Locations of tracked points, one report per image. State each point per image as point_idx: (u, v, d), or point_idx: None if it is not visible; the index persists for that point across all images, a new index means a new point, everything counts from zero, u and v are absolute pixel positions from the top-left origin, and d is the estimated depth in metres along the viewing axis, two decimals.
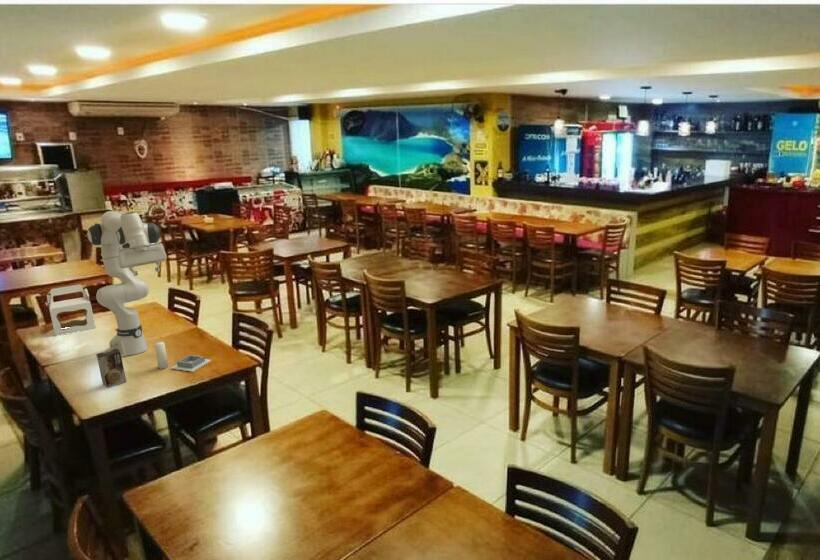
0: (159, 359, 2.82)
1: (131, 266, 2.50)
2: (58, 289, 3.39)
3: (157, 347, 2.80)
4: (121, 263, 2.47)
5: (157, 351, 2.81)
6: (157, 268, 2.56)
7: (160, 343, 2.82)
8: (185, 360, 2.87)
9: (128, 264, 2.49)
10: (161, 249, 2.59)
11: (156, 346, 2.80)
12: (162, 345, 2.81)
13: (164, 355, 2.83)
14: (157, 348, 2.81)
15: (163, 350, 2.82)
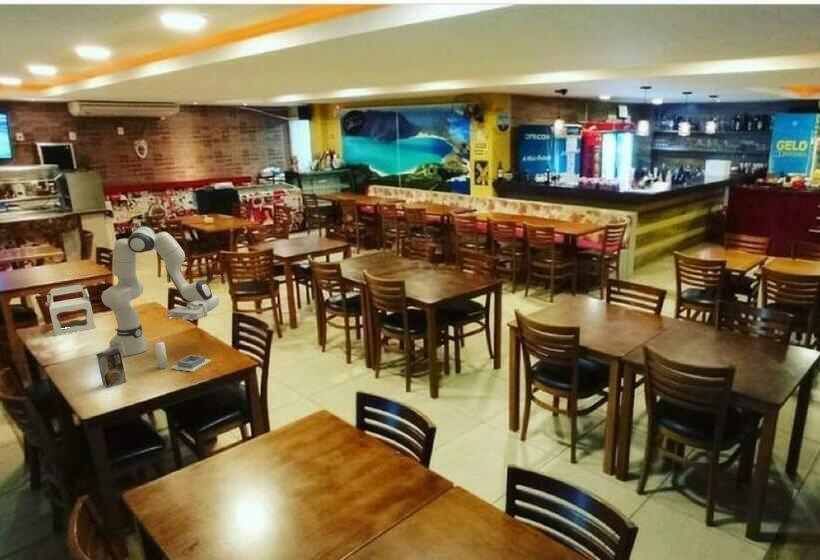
0: (159, 359, 2.82)
1: None
2: (58, 289, 3.39)
3: (157, 347, 2.80)
4: None
5: (157, 351, 2.81)
6: None
7: (160, 343, 2.82)
8: (185, 360, 2.87)
9: None
10: None
11: (156, 346, 2.80)
12: (162, 345, 2.81)
13: (164, 355, 2.83)
14: (157, 348, 2.81)
15: (163, 350, 2.82)
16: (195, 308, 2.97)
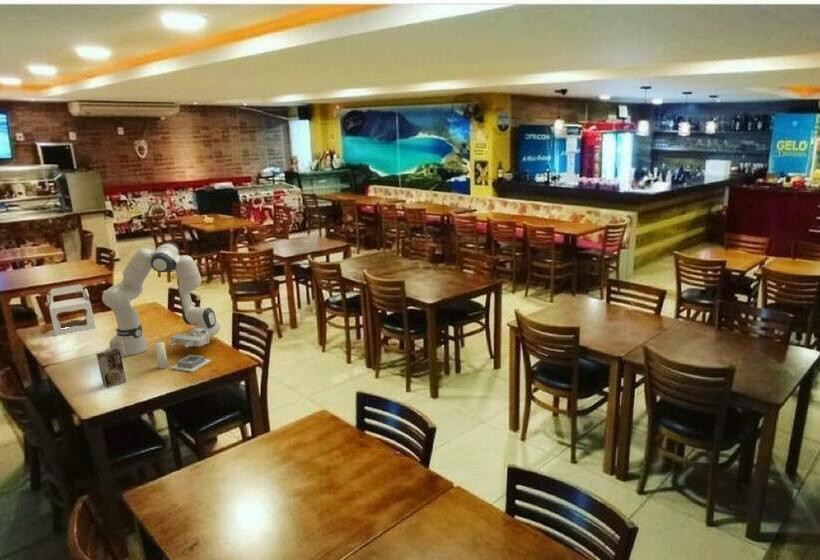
0: (159, 359, 2.82)
1: None
2: (58, 289, 3.39)
3: (157, 347, 2.80)
4: None
5: (157, 351, 2.81)
6: None
7: (160, 343, 2.82)
8: (185, 360, 2.87)
9: (195, 345, 2.97)
10: None
11: (156, 346, 2.80)
12: (162, 345, 2.81)
13: (164, 355, 2.83)
14: (157, 348, 2.81)
15: (163, 350, 2.82)
16: (198, 335, 3.02)
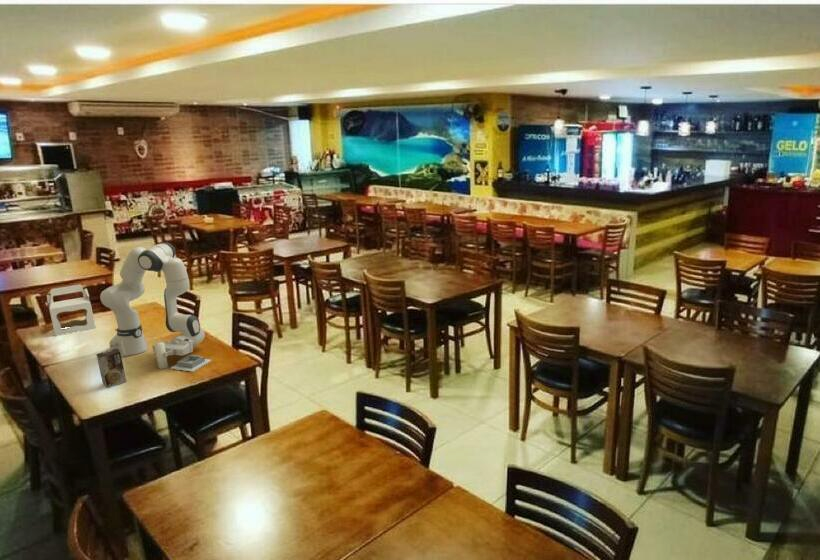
0: (159, 359, 2.82)
1: None
2: (58, 289, 3.39)
3: (157, 347, 2.80)
4: None
5: (157, 351, 2.81)
6: None
7: (160, 343, 2.82)
8: (185, 360, 2.87)
9: None
10: None
11: (156, 346, 2.80)
12: (162, 345, 2.81)
13: None
14: (157, 348, 2.81)
15: (163, 350, 2.82)
16: (181, 343, 2.90)
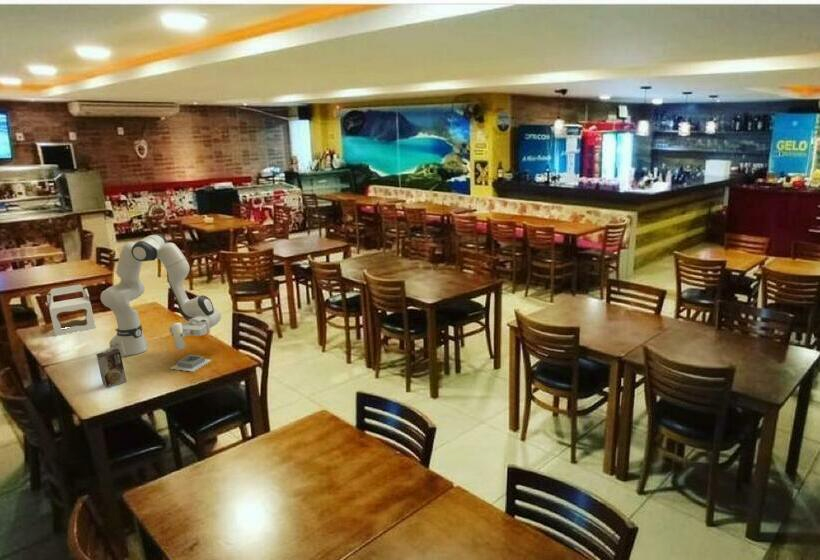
0: (176, 340, 2.80)
1: None
2: (58, 289, 3.39)
3: (174, 327, 2.78)
4: (200, 335, 2.83)
5: (174, 331, 2.79)
6: None
7: (177, 323, 2.80)
8: (185, 360, 2.87)
9: (195, 335, 2.83)
10: None
11: (173, 326, 2.78)
12: (179, 325, 2.79)
13: None
14: (174, 328, 2.78)
15: (180, 330, 2.80)
16: (198, 324, 2.88)
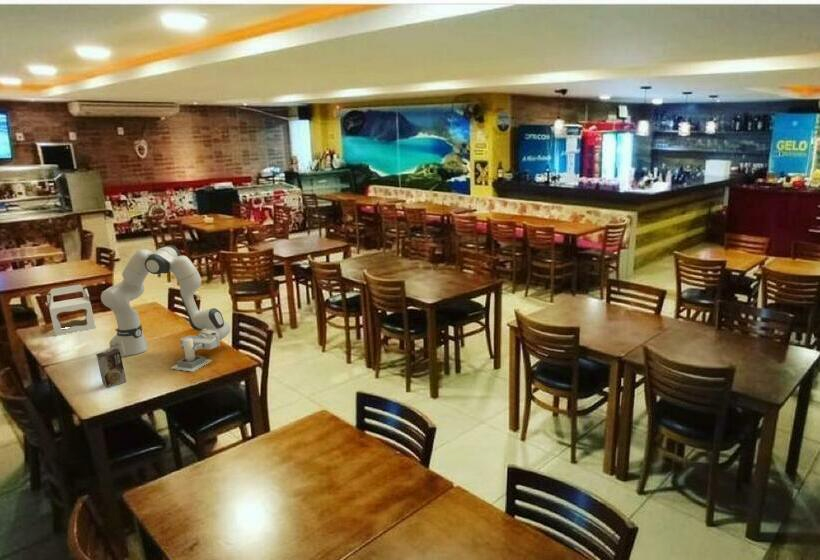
0: (187, 355, 2.83)
1: None
2: (58, 289, 3.39)
3: (185, 343, 2.81)
4: (211, 348, 2.85)
5: (185, 347, 2.82)
6: None
7: (188, 339, 2.83)
8: (185, 360, 2.87)
9: (205, 348, 2.86)
10: None
11: (185, 342, 2.81)
12: (190, 341, 2.82)
13: (192, 351, 2.83)
14: (185, 344, 2.81)
15: (191, 346, 2.83)
16: (208, 337, 2.90)
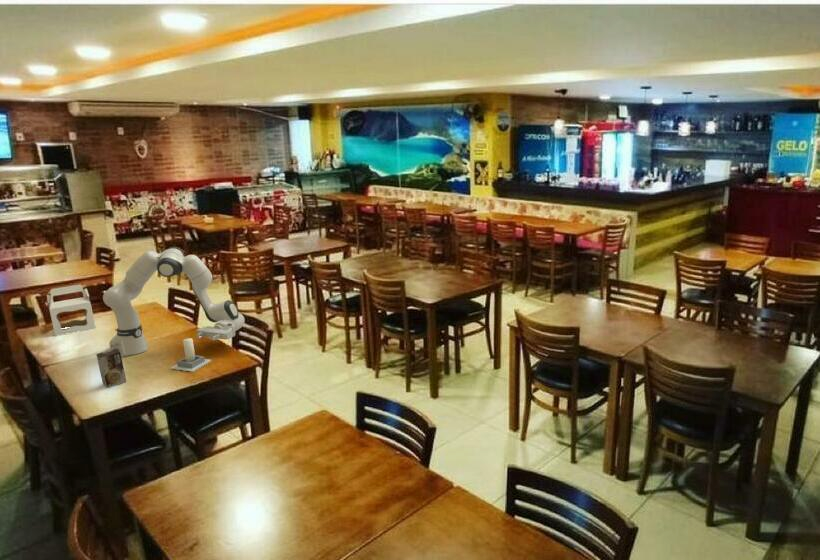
0: (187, 355, 2.83)
1: None
2: (58, 289, 3.39)
3: (185, 343, 2.81)
4: None
5: (186, 347, 2.82)
6: None
7: (188, 339, 2.83)
8: (185, 360, 2.87)
9: (222, 338, 2.97)
10: None
11: (185, 342, 2.81)
12: (190, 341, 2.82)
13: (192, 351, 2.83)
14: (186, 344, 2.81)
15: (191, 346, 2.83)
16: (224, 328, 3.02)
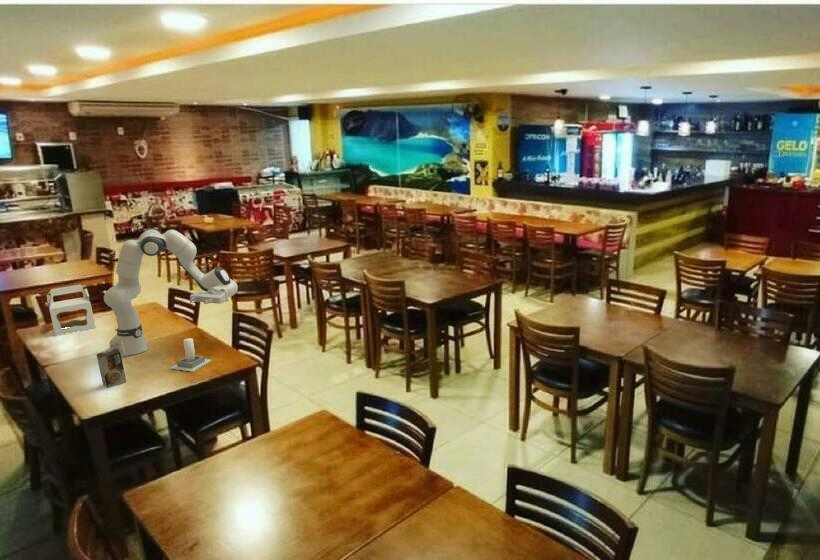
0: (188, 355, 2.83)
1: None
2: (58, 289, 3.39)
3: (186, 343, 2.81)
4: None
5: (186, 347, 2.82)
6: None
7: (189, 339, 2.83)
8: (185, 360, 2.87)
9: None
10: None
11: (185, 342, 2.81)
12: (191, 341, 2.82)
13: (193, 351, 2.84)
14: (186, 344, 2.81)
15: (192, 346, 2.83)
16: (217, 293, 3.05)
